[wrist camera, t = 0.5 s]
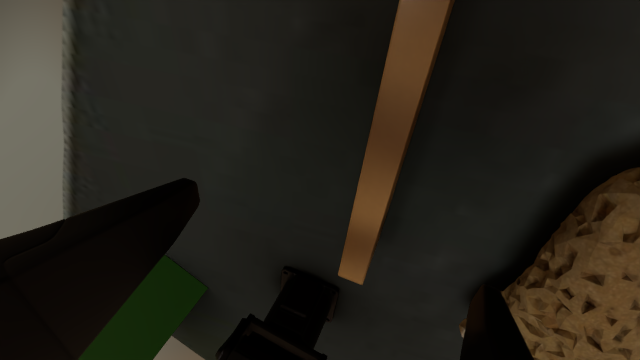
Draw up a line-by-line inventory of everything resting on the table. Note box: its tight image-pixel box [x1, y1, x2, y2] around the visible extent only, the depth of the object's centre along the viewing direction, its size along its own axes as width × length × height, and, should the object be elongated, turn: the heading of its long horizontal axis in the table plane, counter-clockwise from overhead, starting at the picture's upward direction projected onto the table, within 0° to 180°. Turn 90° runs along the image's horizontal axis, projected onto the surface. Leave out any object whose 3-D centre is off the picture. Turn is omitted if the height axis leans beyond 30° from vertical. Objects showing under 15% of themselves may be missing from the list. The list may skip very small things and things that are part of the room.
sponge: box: [459, 167, 640, 360], centre depth 21 cm, size 13×8×20 cm
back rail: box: [338, 0, 455, 285], centre depth 20 cm, size 26×2×5 cm, turn 174°
